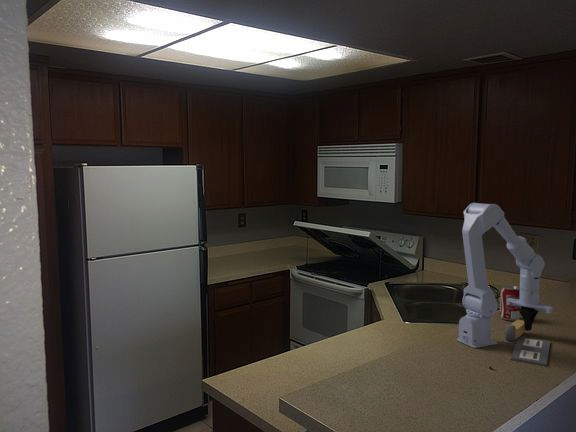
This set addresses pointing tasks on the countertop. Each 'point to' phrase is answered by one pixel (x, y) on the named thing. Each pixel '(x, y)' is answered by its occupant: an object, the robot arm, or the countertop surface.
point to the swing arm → (514, 330)
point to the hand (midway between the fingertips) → (528, 330)
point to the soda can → (510, 310)
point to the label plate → (530, 350)
